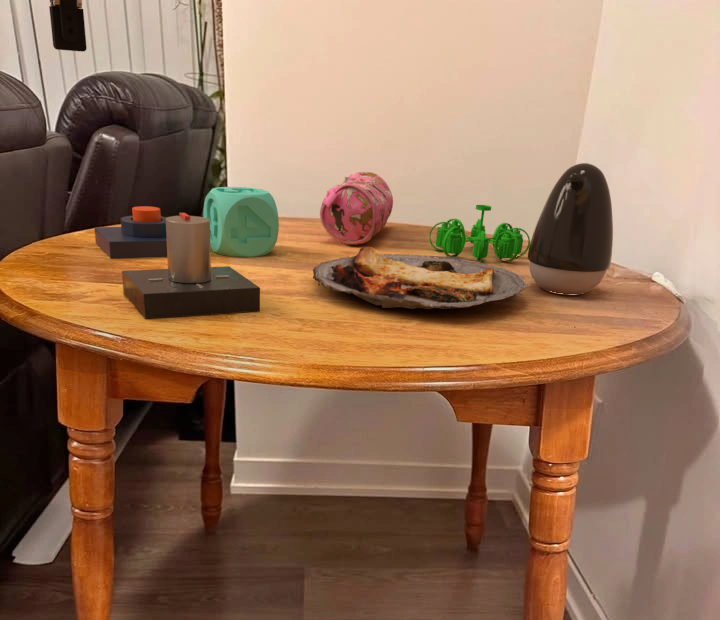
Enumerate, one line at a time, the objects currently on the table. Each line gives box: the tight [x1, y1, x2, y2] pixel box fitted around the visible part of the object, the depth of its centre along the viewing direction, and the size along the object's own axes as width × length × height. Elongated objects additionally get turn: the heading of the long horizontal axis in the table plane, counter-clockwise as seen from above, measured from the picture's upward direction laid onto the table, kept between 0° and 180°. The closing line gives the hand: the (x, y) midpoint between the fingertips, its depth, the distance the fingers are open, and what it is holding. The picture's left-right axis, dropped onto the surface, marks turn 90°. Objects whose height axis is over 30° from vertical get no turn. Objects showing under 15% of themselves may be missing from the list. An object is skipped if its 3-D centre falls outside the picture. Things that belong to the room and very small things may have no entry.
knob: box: [166, 212, 212, 283], centre depth 80 cm, size 4×4×6 cm
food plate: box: [312, 246, 529, 310], centre depth 92 cm, size 25×23×4 cm
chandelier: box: [428, 204, 531, 263], centre depth 116 cm, size 15×15×7 cm
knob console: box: [121, 266, 261, 320], centre depth 82 cm, size 12×10×3 cm
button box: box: [94, 215, 168, 260], centre depth 104 cm, size 12×10×4 cm
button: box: [131, 205, 162, 222], centre depth 103 cm, size 4×4×2 cm
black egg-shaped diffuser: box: [526, 162, 614, 295], centre depth 96 cm, size 10×10×15 cm
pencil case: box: [319, 171, 394, 246], centre depth 123 cm, size 21×9×9 cm, turn 172°
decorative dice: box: [202, 186, 280, 258], centre depth 106 cm, size 8×8×8 cm
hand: (70, 50), depth 84 cm, fingers closed
